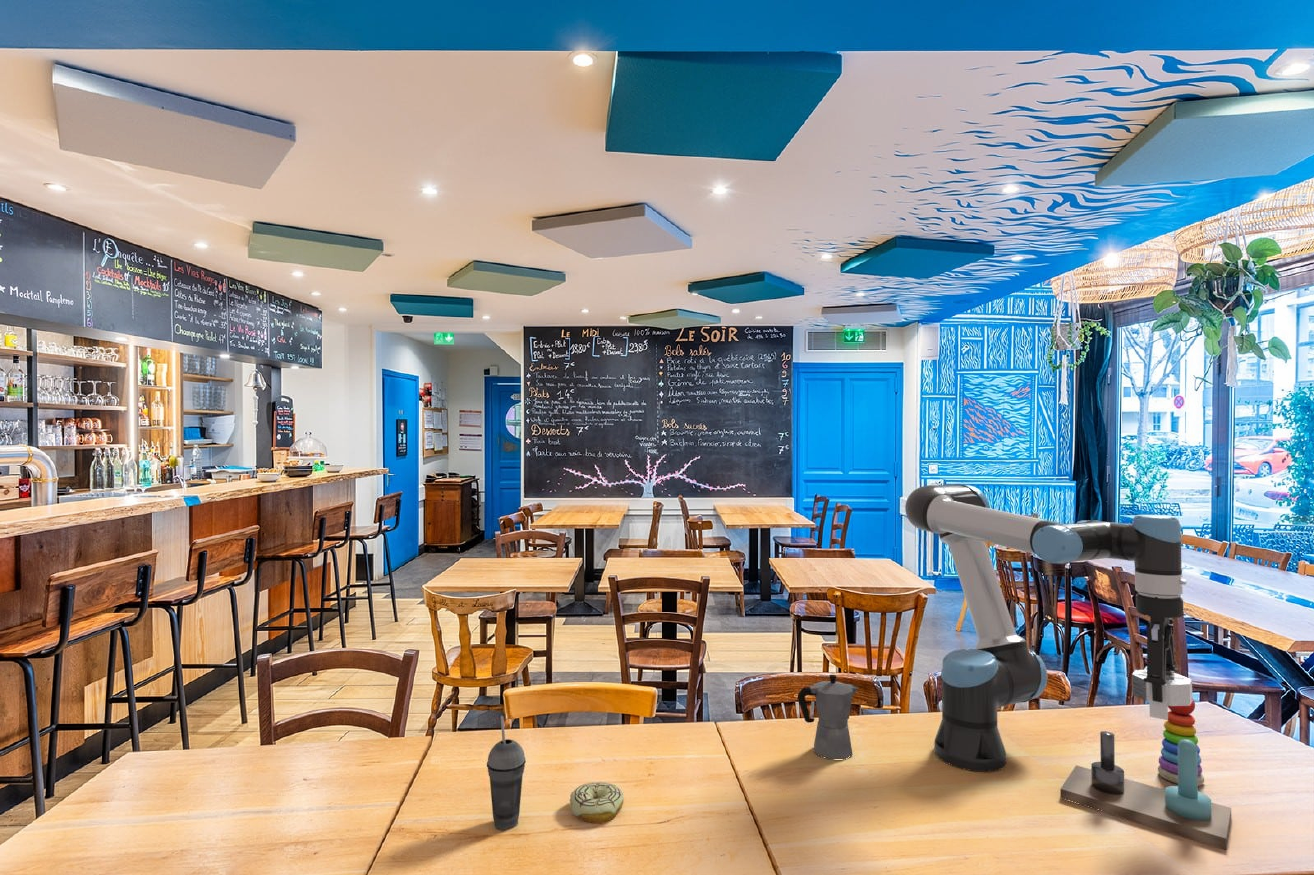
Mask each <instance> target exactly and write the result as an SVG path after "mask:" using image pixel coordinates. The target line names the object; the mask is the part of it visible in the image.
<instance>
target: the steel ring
mask: <svg viewBox="0 0 1314 875" xmlns="http://www.w3.org/2000/svg"><path fill="white" fill-rule="evenodd" d="M1171 672H1172V671H1171ZM1171 672H1166V674H1165V681H1166V684H1167V705H1168V706H1190V705H1191V703H1192V701H1193V700H1194V698H1193V697H1194V696H1193V679H1191V678H1189V677H1187V676H1184V675H1181V674H1179V673H1178V672H1174V673H1171ZM1153 676H1155V675H1153ZM1146 677H1147V669H1135V670H1134V671H1133V672H1132V673H1131V684H1132V685H1131V688H1132V690H1131V691H1132V696H1134V697H1137V698H1139V699H1140V700H1143V701H1144V702H1148V703H1149V683H1148V682H1144V678H1146ZM1157 677H1159V676H1157Z"/></svg>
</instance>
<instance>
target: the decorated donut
mask: <svg viewBox="0 0 1314 875" xmlns="http://www.w3.org/2000/svg"><path fill="white" fill-rule="evenodd" d="M569 803H570V806H571V812H572V813H573V814H574V816H576V817H578V818H579V819H581V820H582V821H583V822H587V823H590V824H591V823H592V824H593V823H594V824H603V823H606V822H609V821H612V820H613V819H615V817H617V816H618V814H619V813H620V811H621V809H622V808H623V805H624V792H623V790H622V789H621V788H620V787H619V786H617V785H616V784H613V783H609V782H606V781H605V782H603V781H599V782H595V781H594V782H588V783H584V784H581V785H579V786H578V787H576V788H575V789H574V790H573V791H572V792H571V793H570V798H569ZM616 815H617V816H616Z"/></svg>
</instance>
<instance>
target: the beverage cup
mask: <svg viewBox="0 0 1314 875" xmlns="http://www.w3.org/2000/svg"><path fill="white" fill-rule="evenodd" d="M504 719H505V718H504V716H503V715H501V716H500V726H501V738H502V739H501V740H500V741H498V742H497V743H495V744H494V745H493V747H492V748H491V749H490V751H489V752H488V755H487V756H488V757H487V761H486V768H487V773H488V777H489V784H490V786H489V787H490V797H491V807H492V809H491V810H492V820H493V827H494V829H497V830H500V831H507V830H512V829H513V828H516V827H517V826H518V825H519V817H520V811H521V799H522V798H521V797H522V789H523V788H522V786H523V777H524V776H523V775H524V772H525V768H526V767H525V766H526V757H525V752H524V749H523V747H522V746H521V745H520V744H519V743H518V742H517V741H515V740H513V739H509V738H507V739H506V734H505V723H504V722H505V721H504Z"/></svg>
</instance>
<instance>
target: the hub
mask: <svg viewBox="0 0 1314 875" xmlns="http://www.w3.org/2000/svg"><path fill="white" fill-rule="evenodd" d="M1196 745H1197V744H1196ZM1196 745H1195V743H1193V742H1192V741H1190V740H1187V739H1183V740H1181V741H1179V743H1178V784H1177V785H1172V786H1171V785H1170V786H1166V787H1165V788H1164V790H1165V806H1166V808H1167V809H1168V810H1169V811H1171V812H1172V813H1174V814H1176V815H1178V816H1181V817H1184V818H1187V819H1191V820H1197V821H1207V820H1210V819H1211V818H1212V812H1211V803H1212V799H1211V798H1210V796H1208V795H1206V794H1205V793H1203V792H1201V791H1199V790H1198V789H1199V786H1198V753H1197V746H1196Z"/></svg>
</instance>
